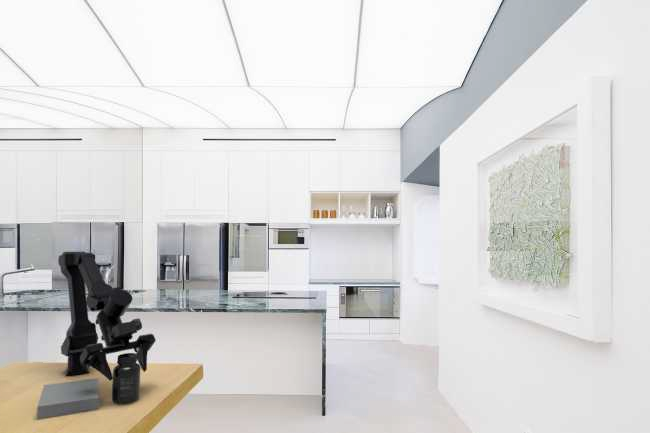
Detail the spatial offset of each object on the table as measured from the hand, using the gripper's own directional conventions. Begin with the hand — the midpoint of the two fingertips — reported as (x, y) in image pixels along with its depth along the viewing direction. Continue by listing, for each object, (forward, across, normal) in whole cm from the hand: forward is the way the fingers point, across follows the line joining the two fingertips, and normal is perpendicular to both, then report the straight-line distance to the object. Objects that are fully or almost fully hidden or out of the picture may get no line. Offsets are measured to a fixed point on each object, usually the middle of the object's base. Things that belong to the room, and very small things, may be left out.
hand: (128, 375), depth 111 cm
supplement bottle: (+4, 0, +6) cm, 7 cm away
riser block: (-2, -10, +12) cm, 16 cm away
